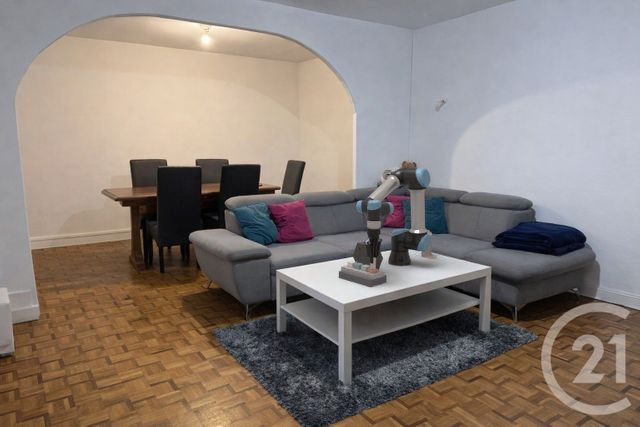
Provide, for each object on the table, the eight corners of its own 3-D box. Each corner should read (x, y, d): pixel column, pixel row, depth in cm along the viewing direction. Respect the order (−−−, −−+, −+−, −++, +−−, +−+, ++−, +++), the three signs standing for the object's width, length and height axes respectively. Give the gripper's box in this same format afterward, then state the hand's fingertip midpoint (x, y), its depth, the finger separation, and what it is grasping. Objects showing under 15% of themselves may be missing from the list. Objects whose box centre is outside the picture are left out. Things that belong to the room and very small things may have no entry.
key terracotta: (372, 272, 261) (372, 267, 260) (377, 274, 258) (378, 269, 257) (368, 274, 258) (368, 268, 258) (373, 275, 255) (373, 270, 255)
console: (354, 273, 279) (354, 263, 278) (386, 282, 260) (386, 271, 259) (338, 277, 269) (338, 267, 268) (370, 287, 251) (370, 275, 250)
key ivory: (352, 265, 273) (352, 260, 272) (356, 266, 270) (356, 261, 269) (347, 266, 270) (347, 261, 270) (352, 268, 267) (352, 263, 267)
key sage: (365, 269, 265) (365, 264, 264) (370, 270, 262) (370, 265, 261) (360, 270, 262) (361, 265, 262) (366, 272, 259) (366, 267, 259)
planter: (386, 266, 278) (373, 235, 284) (377, 268, 273) (365, 237, 279) (369, 275, 290) (358, 246, 296) (361, 278, 285) (349, 248, 291)
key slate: (358, 267, 269) (358, 262, 268) (363, 268, 266) (363, 263, 265) (354, 268, 266) (354, 263, 266) (359, 270, 263) (359, 265, 263)
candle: (435, 259, 314) (436, 231, 311) (419, 256, 324) (420, 228, 321) (441, 257, 318) (442, 230, 316) (424, 254, 329) (425, 227, 326)
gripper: (376, 225, 261) (375, 265, 265) (360, 228, 253) (360, 269, 256) (386, 227, 256) (385, 267, 259) (371, 230, 247) (370, 272, 250)
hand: (372, 268), depth 257 cm, fingers closed
